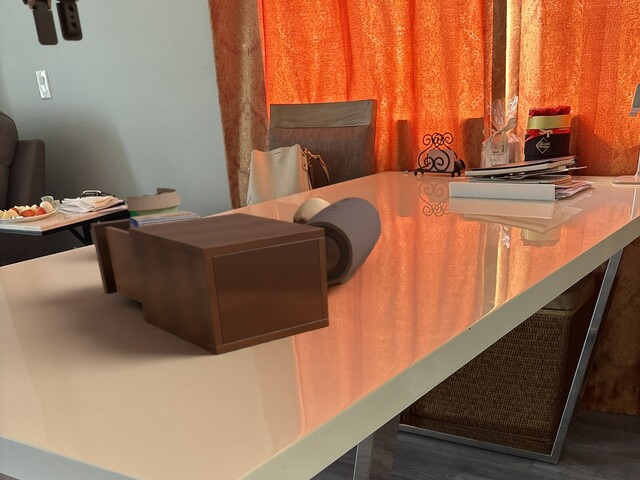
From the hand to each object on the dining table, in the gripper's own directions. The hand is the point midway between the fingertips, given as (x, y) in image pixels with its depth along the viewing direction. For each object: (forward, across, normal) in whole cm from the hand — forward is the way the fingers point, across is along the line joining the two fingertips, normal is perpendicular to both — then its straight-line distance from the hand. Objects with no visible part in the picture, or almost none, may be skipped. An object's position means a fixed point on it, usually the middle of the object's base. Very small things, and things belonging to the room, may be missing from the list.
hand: (60, 42), depth 87 cm
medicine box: (+28, +13, +4) cm, 31 cm away
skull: (+30, -5, +41) cm, 51 cm away
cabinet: (+30, +28, +4) cm, 41 cm away
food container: (+30, -18, +18) cm, 40 cm away
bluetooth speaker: (+30, +18, +28) cm, 45 cm away
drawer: (+29, +11, +4) cm, 32 cm away
